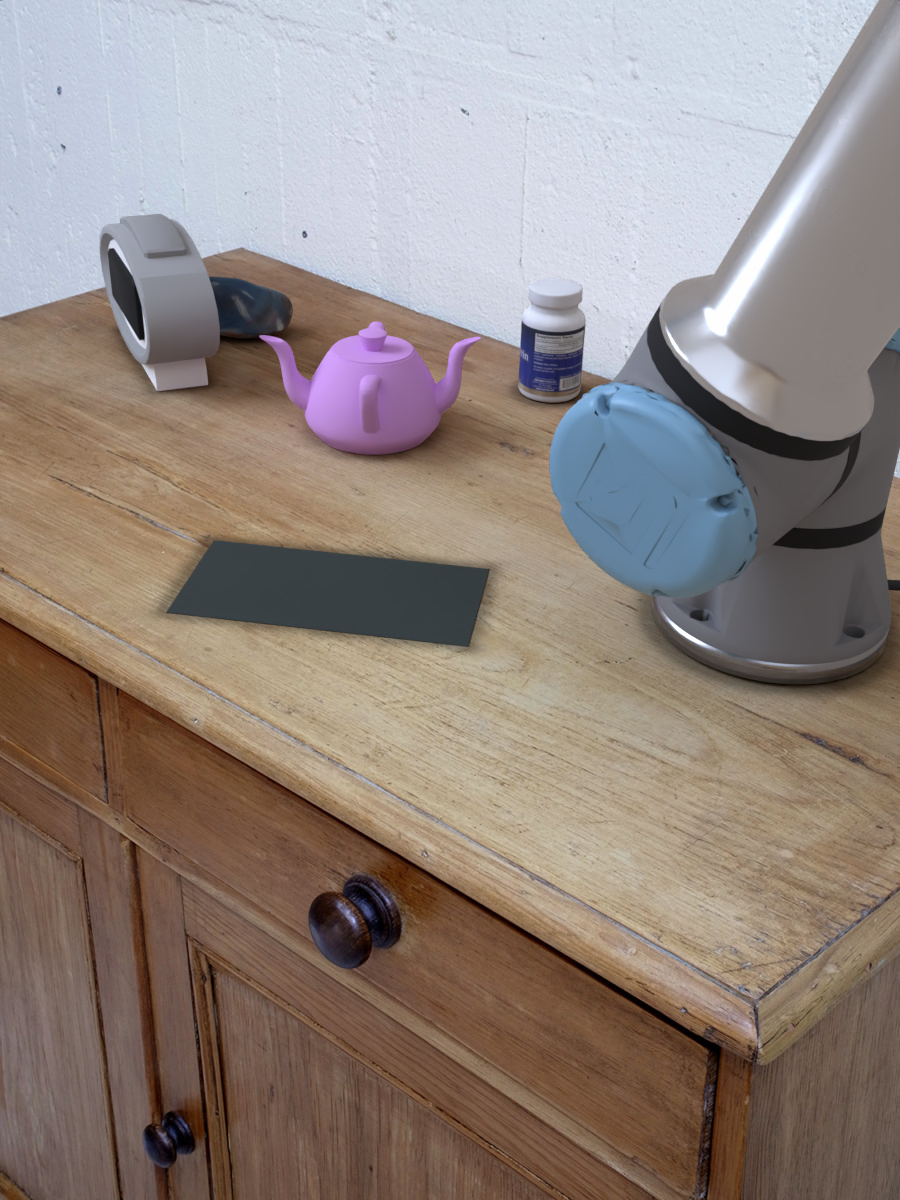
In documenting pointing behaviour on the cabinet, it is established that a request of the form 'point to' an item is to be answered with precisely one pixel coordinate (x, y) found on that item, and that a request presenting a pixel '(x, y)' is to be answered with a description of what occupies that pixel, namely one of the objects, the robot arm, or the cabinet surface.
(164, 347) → the alarm clock
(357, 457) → the cabinet surface
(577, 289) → the pill bottle
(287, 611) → the mat
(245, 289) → the seashell
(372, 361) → the teapot
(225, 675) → the cabinet surface
